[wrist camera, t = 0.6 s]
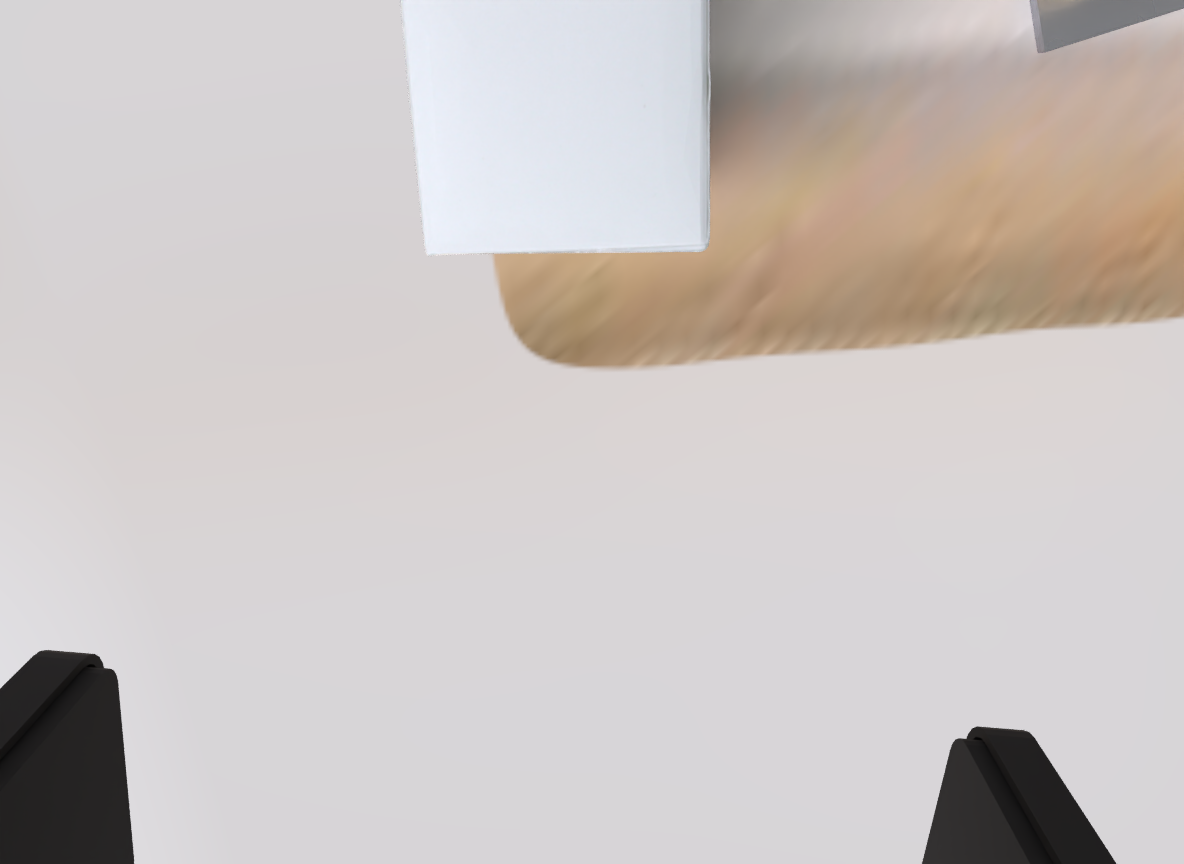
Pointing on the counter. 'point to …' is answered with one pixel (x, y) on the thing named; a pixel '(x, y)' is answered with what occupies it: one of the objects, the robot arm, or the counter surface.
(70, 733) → the robot arm
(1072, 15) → the trowel
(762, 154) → the counter surface
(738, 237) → the counter surface
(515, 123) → the supplement box
